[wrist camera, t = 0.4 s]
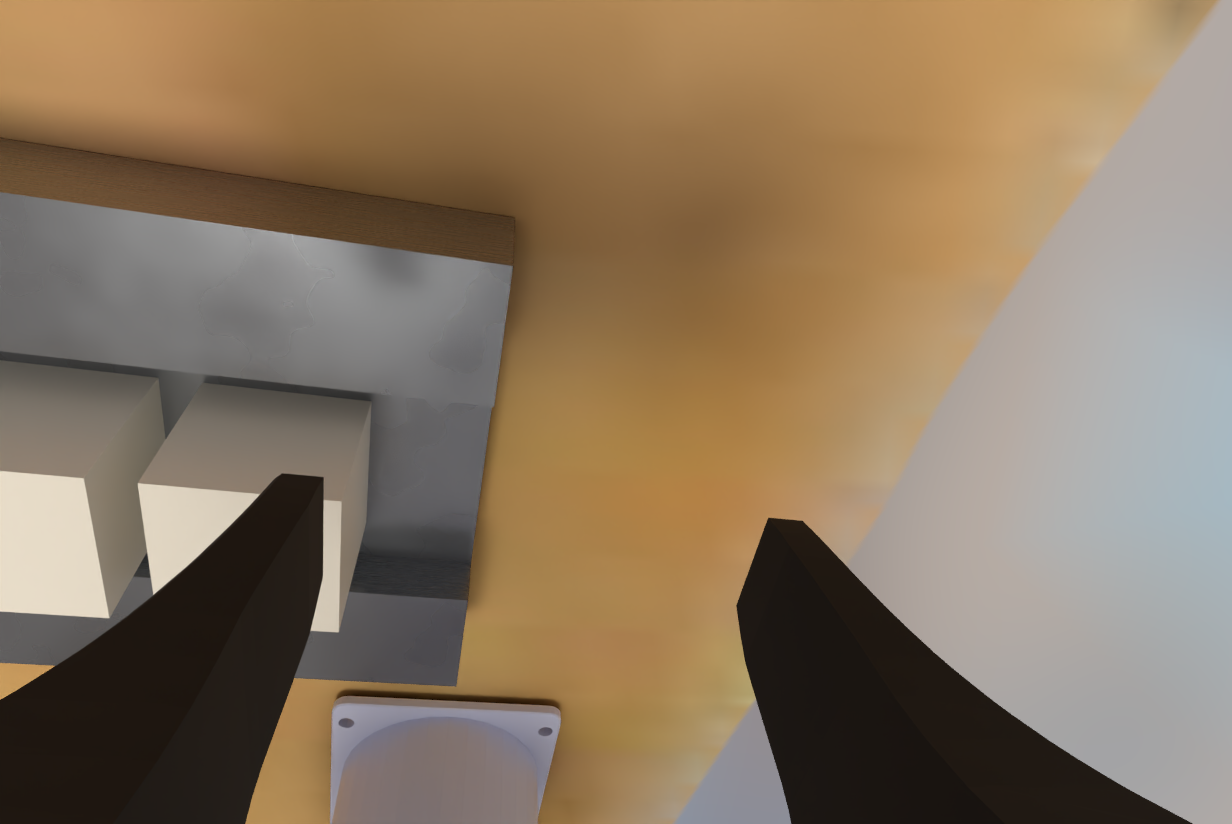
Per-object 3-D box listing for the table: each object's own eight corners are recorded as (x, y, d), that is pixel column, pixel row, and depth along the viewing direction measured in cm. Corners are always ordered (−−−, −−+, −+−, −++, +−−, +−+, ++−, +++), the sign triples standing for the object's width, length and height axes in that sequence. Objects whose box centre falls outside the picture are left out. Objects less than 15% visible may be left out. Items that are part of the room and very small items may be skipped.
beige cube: (173, 505, 22) (109, 618, 19) (6, 491, 21) (-91, 605, 18) (158, 377, 20) (83, 478, 17) (-26, 357, 19) (-144, 458, 16)
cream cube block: (366, 522, 23) (338, 632, 19) (212, 509, 22) (157, 621, 19) (371, 401, 21) (341, 501, 17) (202, 382, 20) (137, 482, 17)
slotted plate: (462, 611, 27) (456, 686, 25) (-163, 569, 24) (-244, 650, 21) (514, 217, 20) (513, 265, 18) (-362, 82, 17) (-518, 117, 14)
